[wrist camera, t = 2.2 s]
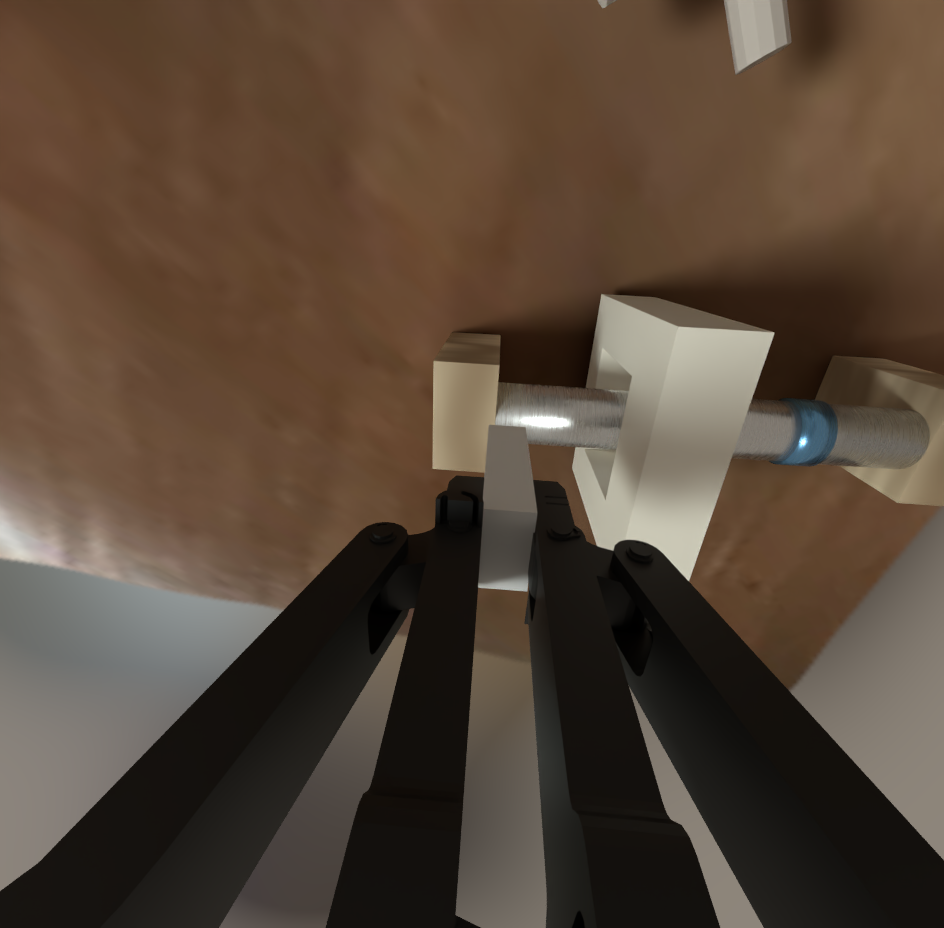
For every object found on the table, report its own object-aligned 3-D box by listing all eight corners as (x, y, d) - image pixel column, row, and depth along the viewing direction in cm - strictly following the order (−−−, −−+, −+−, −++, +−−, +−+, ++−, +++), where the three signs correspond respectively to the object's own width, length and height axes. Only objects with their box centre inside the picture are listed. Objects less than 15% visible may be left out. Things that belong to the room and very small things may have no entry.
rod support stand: (449, 415, 29) (432, 468, 22) (452, 332, 27) (433, 361, 20) (845, 442, 28) (960, 507, 21) (884, 358, 26) (1029, 399, 19)
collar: (572, 467, 29) (611, 592, 19) (601, 294, 25) (678, 326, 14) (617, 471, 29) (682, 598, 19) (655, 297, 24) (774, 332, 14)
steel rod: (449, 427, 25) (442, 451, 22) (451, 368, 23) (443, 386, 20) (907, 459, 24) (964, 488, 21) (939, 400, 22) (1006, 423, 19)
